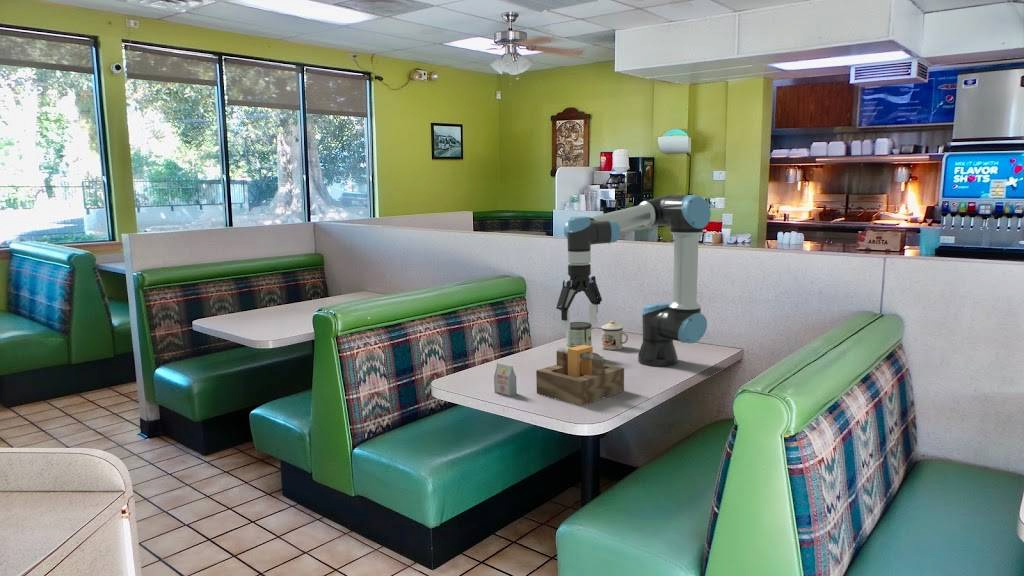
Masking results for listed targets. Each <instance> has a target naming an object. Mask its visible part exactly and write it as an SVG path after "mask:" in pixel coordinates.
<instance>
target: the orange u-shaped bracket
mask: <svg viewBox="0 0 1024 576" xmlns="http://www.w3.org/2000/svg"><path fill="white" fill-rule="evenodd" d="M593 348H594V347H593V346H592V345H591V346H587V345H581V346H576V347H572V348H568V376H571V377H575V378H578V377H580V354H582V353H588V354H592V355H593V353H594V352H593ZM591 373H592V360H587V359H583V358H581V374H583V375H587V374H591Z"/></svg>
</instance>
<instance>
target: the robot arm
mask: <svg viewBox="0 0 1024 576" xmlns="http://www.w3.org/2000/svg"><path fill="white" fill-rule="evenodd" d="M711 213H712V212H711V207H710V204H709V203H708V202H707V201H706V199H705V198H704V197H702V196H700V195H693V194H667V195H663V196H659V197H654V198H651V199H649V200H643V201H642V202H640V203H639V204H638V205H636V206H635V205H634V206H631V207H627V208H623V209H619V210H615V211H611V212H607V213H605V212H604V213H602V214H598V215H593V216H570V217H569V218H568V219H567V221H566V223H564V226H563V234H564V236H565V238H566V240H567V262H568V263H569V264H568V265H567V275H568V276H569V280H567V279H563V281H562V287H561V291H560V294H559V297H558V301H557V304H556V306H555V307H556V310H559V311H560V313H561V314H560V315H561V321H562V330H563V331H566V330H568V331H569V330H570V323H571V311H570V310H569V308H570V307H571V304H572V302H573V300H574V299H575V297H576V295H577V294H578V293H581V292H583V293H584V294H585V296H586V297H587V298H588V300H589V302H590V303H589V306H588V307H589V308H588V310H589V312H588V314H589V317H588V318H589V319H588V320H589V323H591V324H593V325H596V324H598V311H599V309H598V305H600V304H601V302H602V301H603V299H602V295H601V292H600V290H599V286H598V283H597V279H596V276H595V275H592V273H591V272H592V271H591V270H592V267H591V264H590V263H592V262H591V261H592V260H591V258H592V256H591V255H592V252H591V249H592V248H591V246H592V245H600V244H611V243H616V242H617V241H618V240H619V239H620V237H621V231H623V232H624V231H626V230H630V229H635V228H638V227H642V226H644V227H647V228H648V227H654V226H661V227H662V226H664V227H665V226H666V227H670V229H669V230H670V231H669V232H670V234H671V235H673V239H674V240H673V241H674V242H673V244H674V246H673V247H674V248H673V282H672V283H673V285H672V288H673V289H672V302H657V303H656V302H655V303H654V302H653V303H648V304H645V305H644V306H643V309H642V343H641V346H640V349H639V352H638V356H637V359H638V360H637V362H638V363H640V364H642V365H646V366H653V367H666V366H667V367H669V366H673V365H676V364H677V363H678V360H679V359H678V355H677V354H678V353H677V352H676V351H677V350H676V347H675V345H674V341H677V342H680V343H683V344H685V343H686V344H695V343H698V342H699V341H701V339H702V338H703V337H704V335H705V334H706V331H707V328H708V320H707V318H706V316H705V315H704V314H703V313H702V312H701V311H702V310H701V308H702V307H701V305H700V304H699V303H698V301H697V300H698V299H697V298H698V273H699V272H698V266H699V238H700V236H701V235H703V233H704V228H705V227H706V226H708V225H709V222H710V220H711V215H712V214H711Z"/></svg>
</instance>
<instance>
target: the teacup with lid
mask: <svg viewBox="0 0 1024 576" xmlns="http://www.w3.org/2000/svg"><path fill="white" fill-rule="evenodd" d="M623 329H624V327H623V326H622V325H620V324H618V323H616V322H615V320H610V321H609V322H608V323H605V324H604V325H602V326H601V348H602V349H603V348H604V349H603V350H606V349H608V350H607V351H618V350H621V349H623V345H625V344H626V343H627V342H628V340H629V335H628V333H626V332H625V331H623ZM623 335H624V336H625V340H624V341H623Z"/></svg>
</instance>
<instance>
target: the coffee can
mask: <svg viewBox="0 0 1024 576" xmlns="http://www.w3.org/2000/svg"><path fill="white" fill-rule="evenodd" d="M592 324H593V323H590V322H587V321H572V322H571V321H570V330H569V331H568V330H565V338H566V341H565V343H566V348H565V349H568V348H572V347H576V346H581V345H587V346H592Z"/></svg>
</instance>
